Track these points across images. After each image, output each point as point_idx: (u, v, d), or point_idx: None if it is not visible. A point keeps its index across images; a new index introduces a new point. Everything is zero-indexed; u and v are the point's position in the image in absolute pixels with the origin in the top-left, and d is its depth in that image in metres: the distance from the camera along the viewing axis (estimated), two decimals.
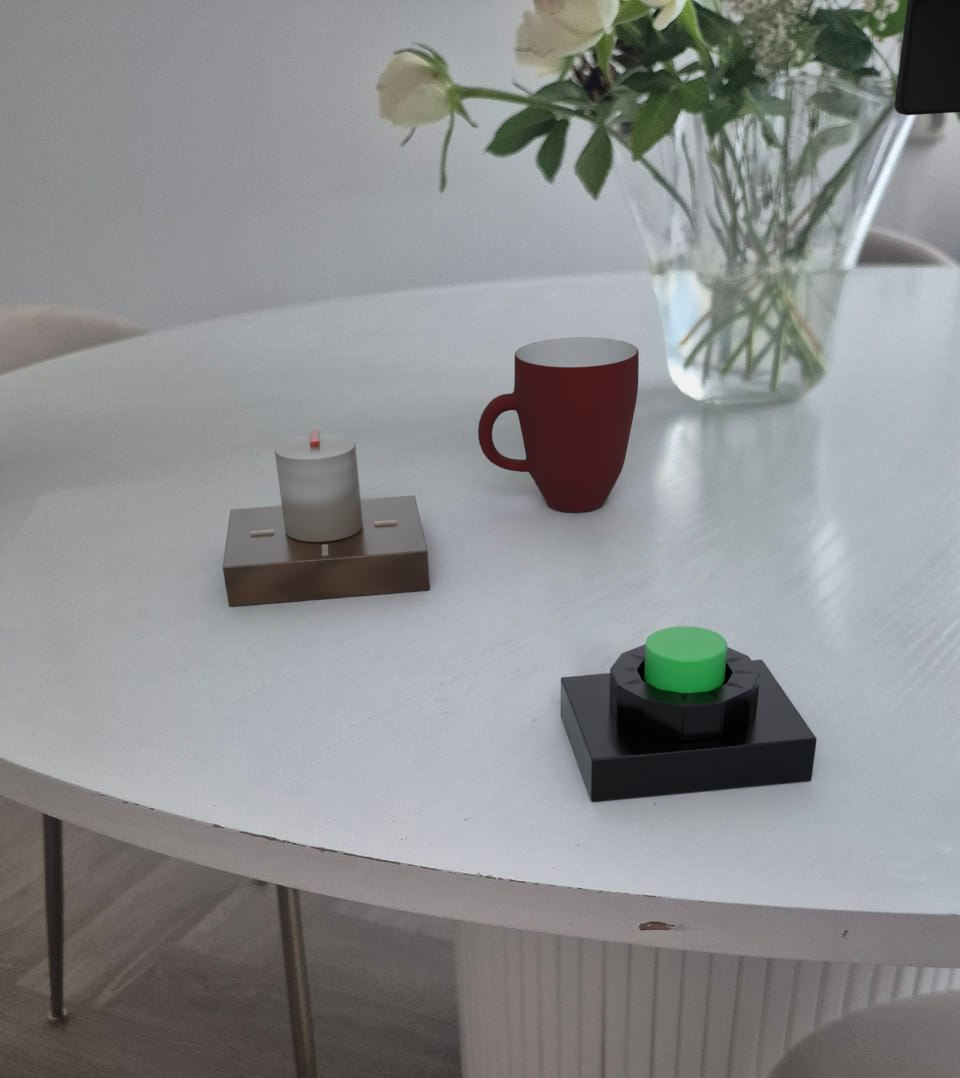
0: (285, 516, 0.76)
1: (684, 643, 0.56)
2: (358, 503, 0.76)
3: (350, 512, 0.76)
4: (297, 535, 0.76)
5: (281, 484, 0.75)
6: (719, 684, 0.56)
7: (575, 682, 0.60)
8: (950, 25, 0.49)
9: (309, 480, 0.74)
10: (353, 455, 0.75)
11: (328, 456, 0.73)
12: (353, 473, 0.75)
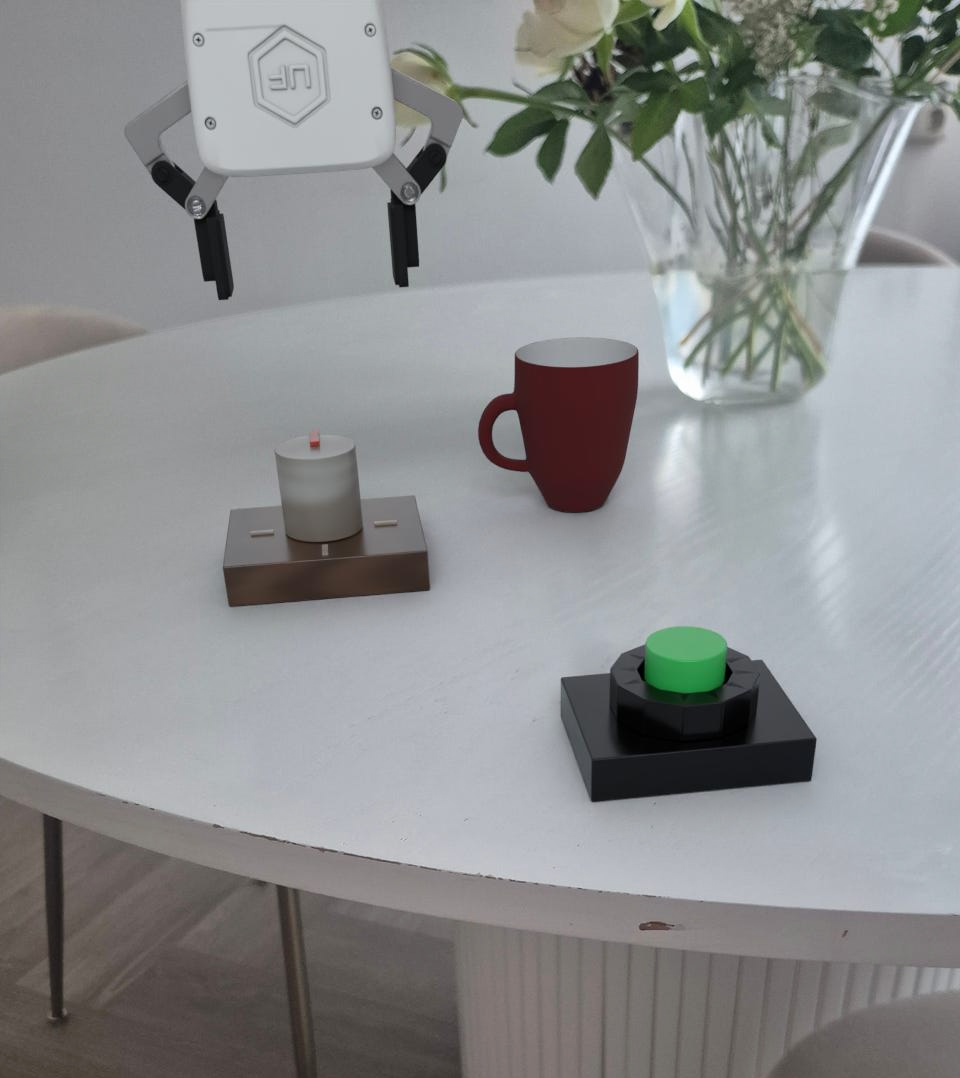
0: (285, 516, 0.76)
1: (684, 643, 0.56)
2: (358, 503, 0.76)
3: (350, 512, 0.76)
4: (297, 535, 0.76)
5: (281, 484, 0.75)
6: (719, 684, 0.56)
7: (575, 682, 0.60)
8: (224, 234, 0.67)
9: (309, 480, 0.74)
10: (353, 455, 0.75)
11: (328, 456, 0.73)
12: (353, 473, 0.75)
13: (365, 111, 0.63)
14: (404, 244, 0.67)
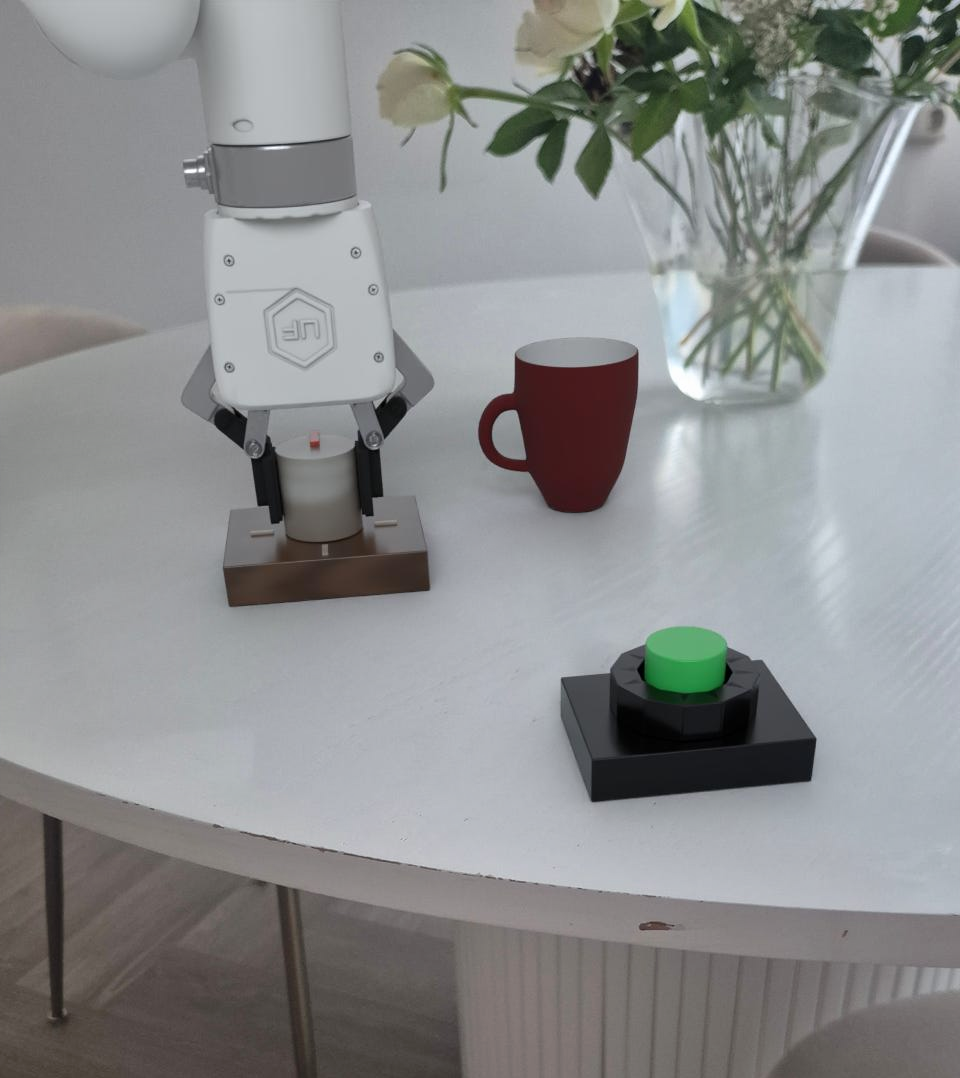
0: (285, 516, 0.76)
1: (684, 643, 0.56)
2: (358, 503, 0.76)
3: (350, 512, 0.76)
4: (297, 535, 0.76)
5: (281, 484, 0.75)
6: (719, 684, 0.56)
7: (575, 682, 0.60)
8: (276, 467, 0.75)
9: (309, 480, 0.74)
10: (353, 455, 0.75)
11: (328, 456, 0.73)
12: (353, 473, 0.75)
13: (368, 356, 0.70)
14: (369, 482, 0.75)
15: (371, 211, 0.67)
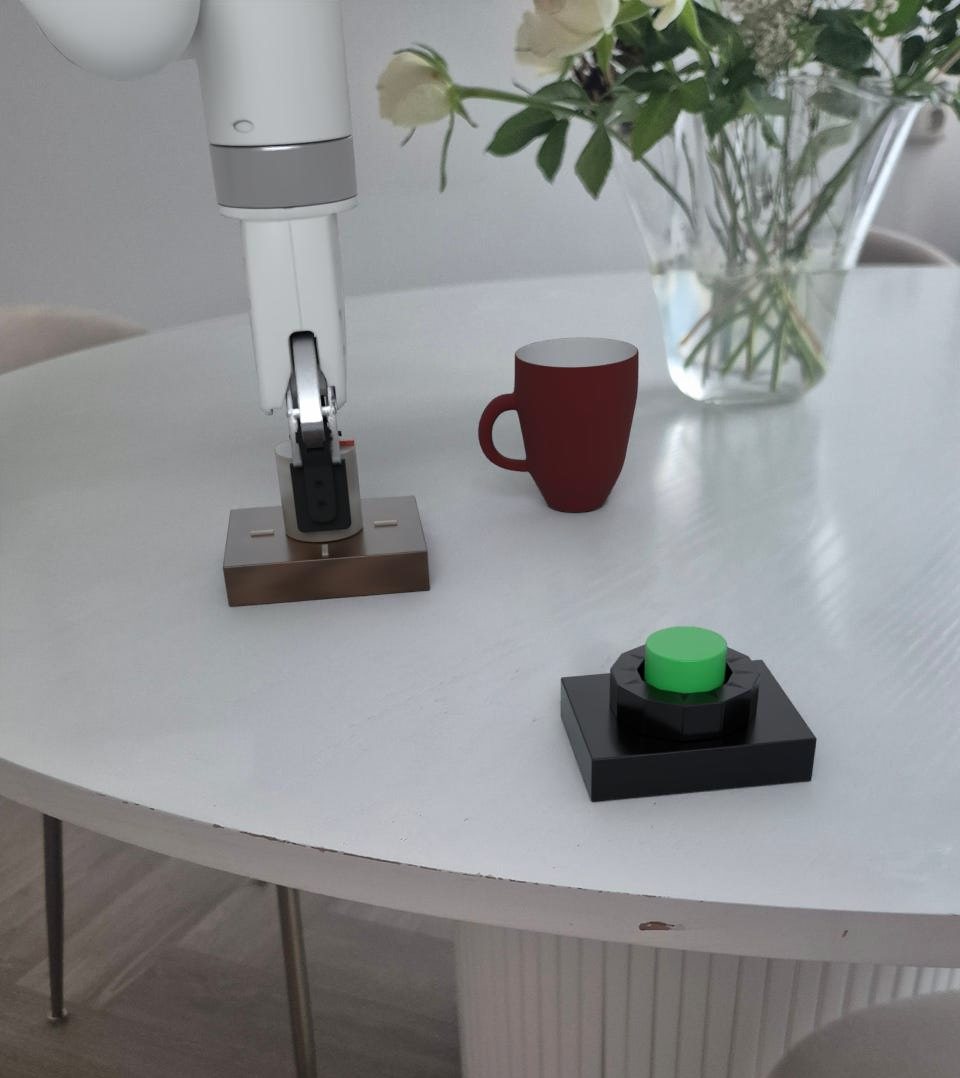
0: None
1: (684, 643, 0.56)
2: None
3: (294, 516, 0.75)
4: None
5: None
6: (719, 684, 0.56)
7: (575, 682, 0.60)
8: None
9: None
10: None
11: (278, 453, 0.74)
12: None
13: (256, 368, 0.69)
14: None
15: (262, 227, 0.64)
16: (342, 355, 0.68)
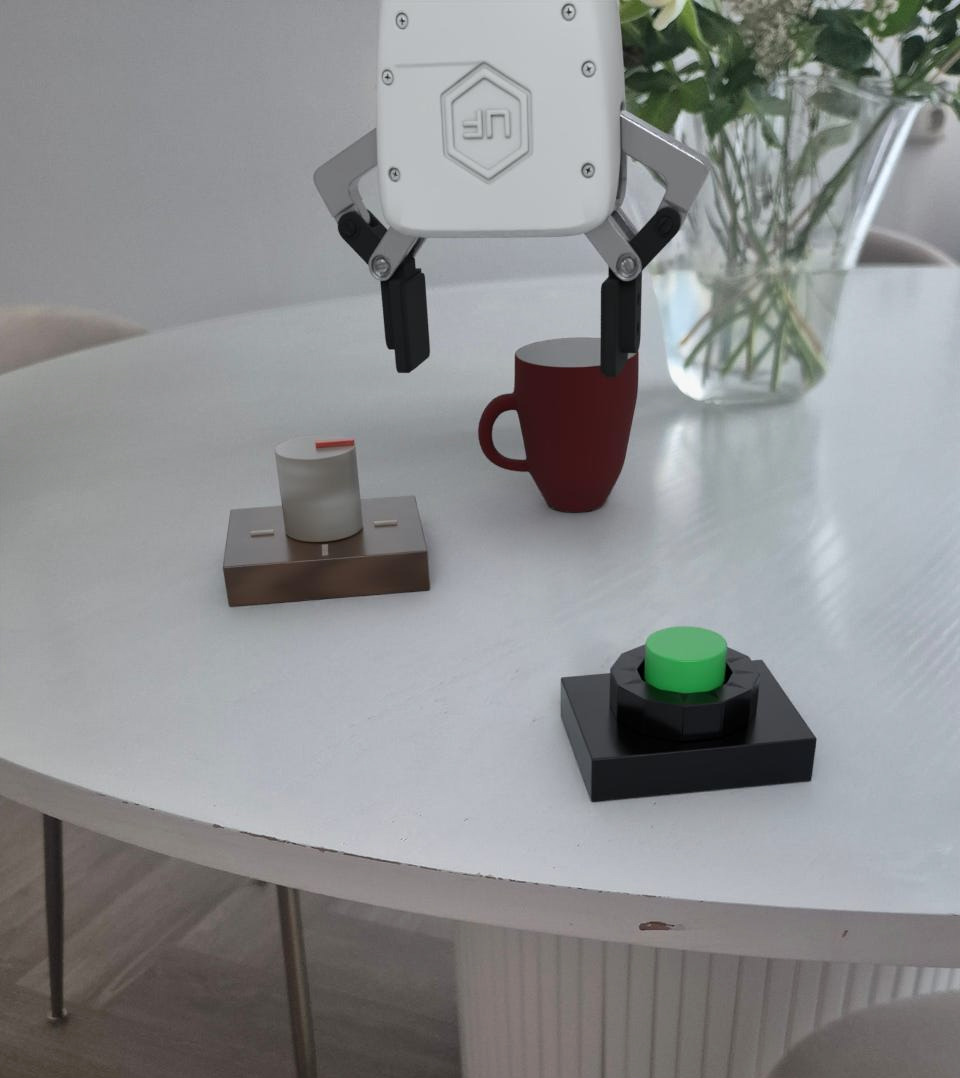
0: None
1: (684, 643, 0.56)
2: (308, 515, 0.75)
3: (294, 516, 0.75)
4: None
5: None
6: (719, 684, 0.56)
7: (575, 682, 0.60)
8: (416, 298, 0.58)
9: None
10: (300, 466, 0.73)
11: (278, 453, 0.74)
12: (298, 482, 0.74)
13: (573, 168, 0.51)
14: (614, 327, 0.55)
15: None
16: None
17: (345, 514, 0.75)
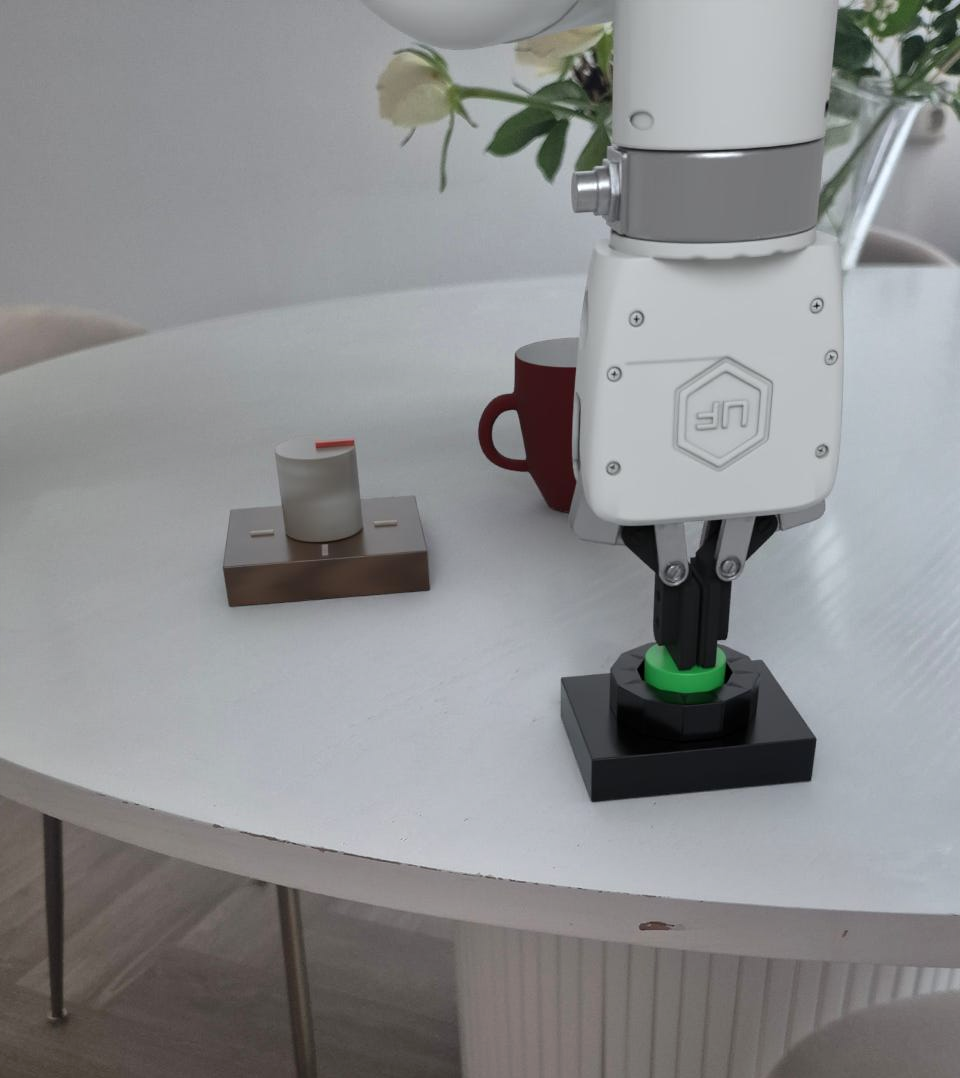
0: None
1: None
2: (308, 515, 0.75)
3: (294, 516, 0.75)
4: None
5: None
6: None
7: (575, 682, 0.60)
8: None
9: None
10: (300, 466, 0.73)
11: (278, 453, 0.74)
12: (298, 482, 0.74)
13: (808, 450, 0.49)
14: (716, 624, 0.54)
15: (838, 245, 0.46)
16: None
17: (345, 514, 0.75)
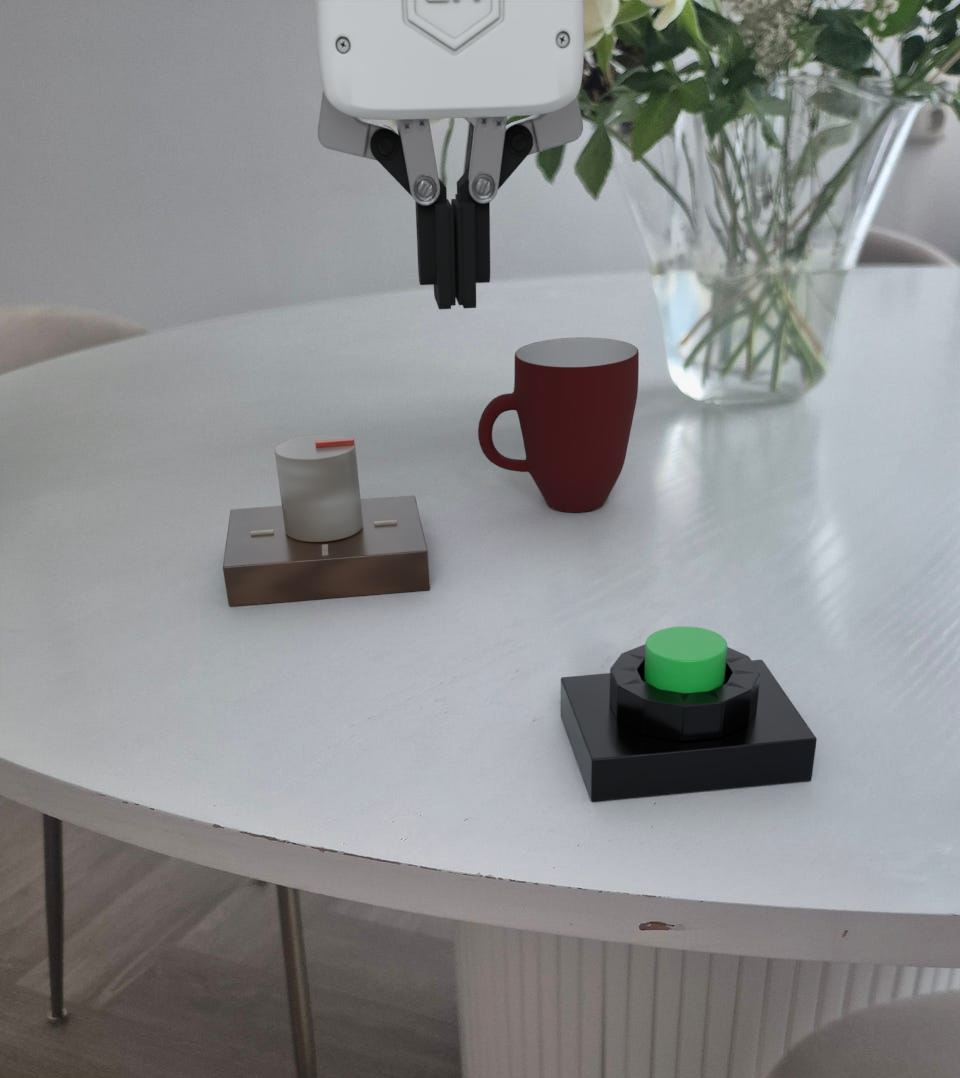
0: None
1: (684, 644, 0.56)
2: (308, 515, 0.75)
3: (294, 516, 0.75)
4: None
5: None
6: (719, 684, 0.56)
7: (575, 682, 0.60)
8: None
9: None
10: (300, 466, 0.73)
11: (278, 453, 0.74)
12: (298, 482, 0.74)
13: (548, 36, 0.47)
14: (473, 253, 0.52)
15: None
16: None
17: (345, 514, 0.75)
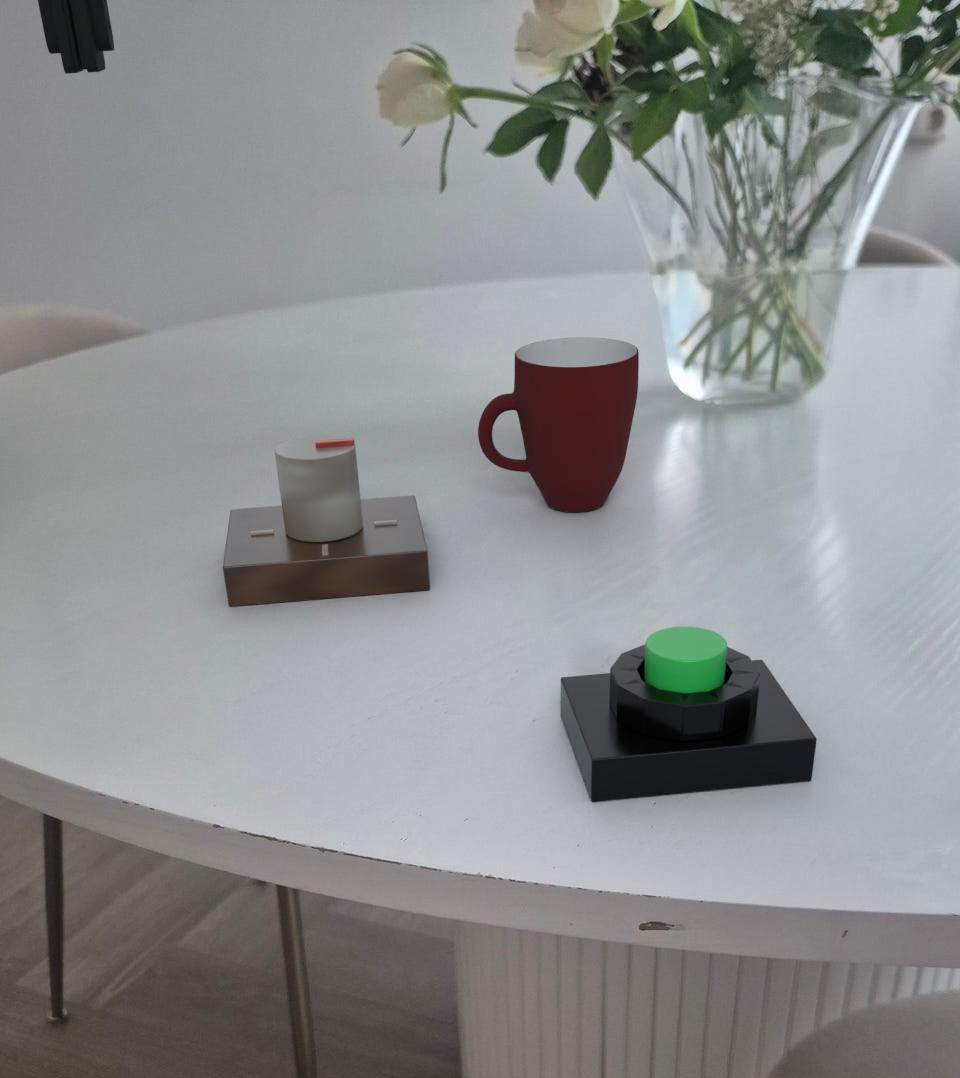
0: None
1: (684, 644, 0.56)
2: (308, 515, 0.75)
3: (294, 516, 0.75)
4: None
5: None
6: (719, 684, 0.56)
7: (575, 682, 0.60)
8: None
9: None
10: (300, 466, 0.73)
11: (278, 453, 0.74)
12: (298, 482, 0.74)
13: None
14: (86, 17, 0.59)
15: None
16: None
17: (345, 514, 0.75)
